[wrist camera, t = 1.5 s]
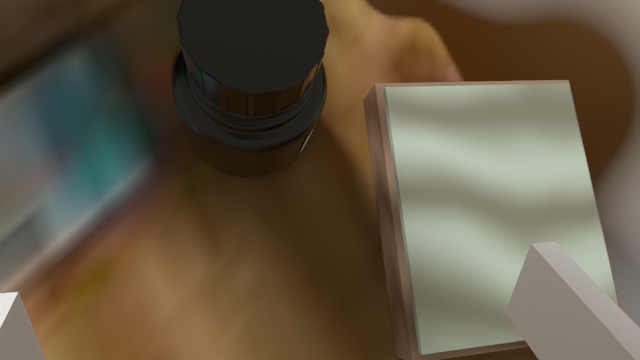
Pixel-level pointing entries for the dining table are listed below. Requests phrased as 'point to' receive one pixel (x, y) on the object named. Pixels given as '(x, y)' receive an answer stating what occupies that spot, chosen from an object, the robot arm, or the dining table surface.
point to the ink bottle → (250, 80)
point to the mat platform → (475, 205)
